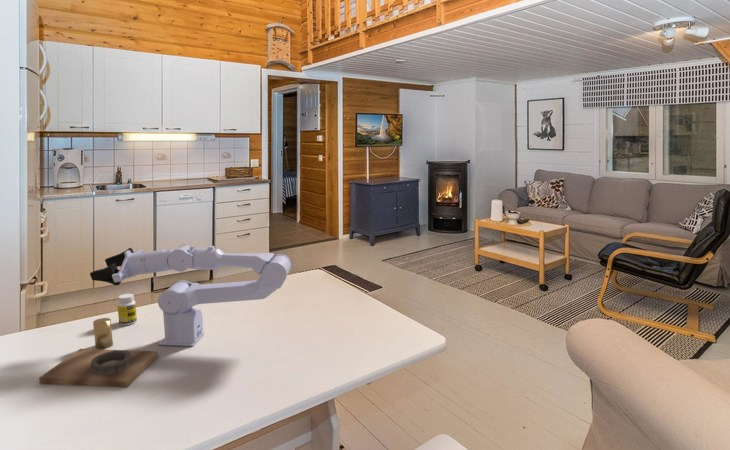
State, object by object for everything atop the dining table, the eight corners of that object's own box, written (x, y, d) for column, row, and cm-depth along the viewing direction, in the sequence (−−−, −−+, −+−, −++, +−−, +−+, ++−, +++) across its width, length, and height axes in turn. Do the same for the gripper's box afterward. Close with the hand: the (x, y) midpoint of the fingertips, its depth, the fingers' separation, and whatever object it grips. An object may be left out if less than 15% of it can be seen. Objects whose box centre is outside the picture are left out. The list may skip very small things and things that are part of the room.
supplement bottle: (129, 326, 131) (127, 299, 129) (115, 325, 131) (112, 297, 130) (140, 320, 135) (138, 293, 134) (126, 318, 136) (124, 292, 134)
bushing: (116, 342, 120) (113, 318, 119) (107, 349, 116) (104, 324, 115) (101, 342, 121) (99, 317, 119) (92, 348, 117) (89, 323, 115)
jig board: (158, 356, 113) (157, 344, 112) (127, 387, 99) (126, 372, 99) (80, 354, 114) (79, 341, 113) (39, 383, 100) (37, 369, 99)
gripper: (155, 237, 124) (107, 244, 124) (132, 261, 110) (78, 269, 111) (163, 260, 126) (116, 266, 127) (141, 286, 113) (89, 293, 113)
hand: (99, 269), depth 119 cm, fingers open, 7 cm apart
